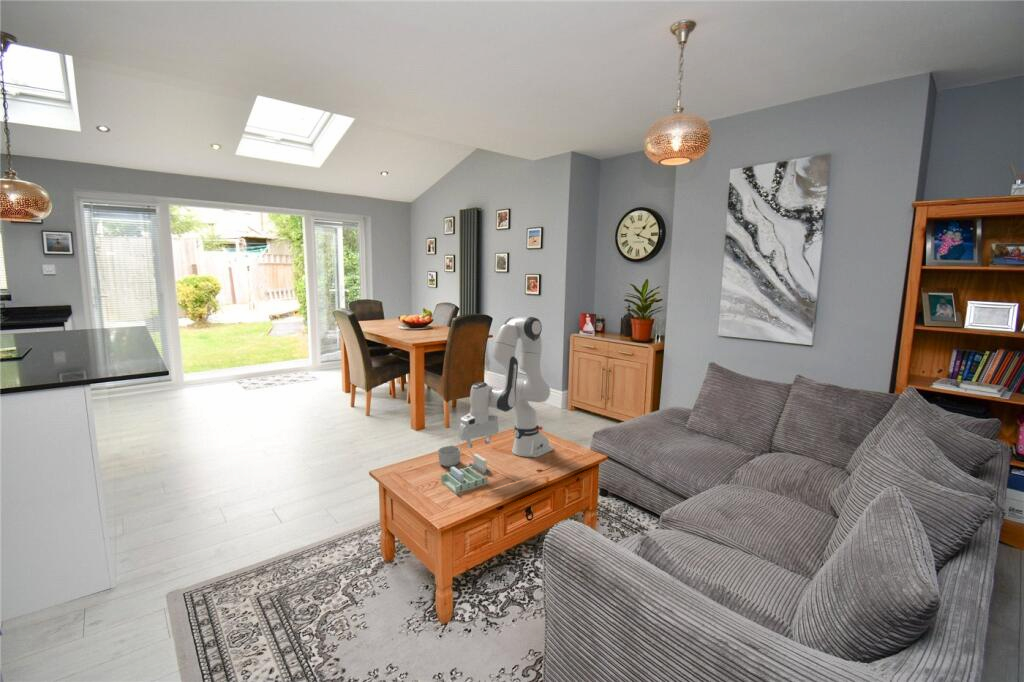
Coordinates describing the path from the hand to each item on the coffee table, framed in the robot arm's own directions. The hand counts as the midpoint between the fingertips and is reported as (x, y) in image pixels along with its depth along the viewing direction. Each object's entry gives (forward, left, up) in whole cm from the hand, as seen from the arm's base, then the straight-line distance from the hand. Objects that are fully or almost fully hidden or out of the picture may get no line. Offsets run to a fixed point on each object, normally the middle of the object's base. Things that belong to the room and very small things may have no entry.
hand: (478, 445), depth 215 cm
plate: (-1, 0, -12) cm, 12 cm away
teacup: (+7, -15, -13) cm, 21 cm away
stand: (-1, 0, -13) cm, 13 cm away
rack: (+12, +8, -13) cm, 19 cm away
